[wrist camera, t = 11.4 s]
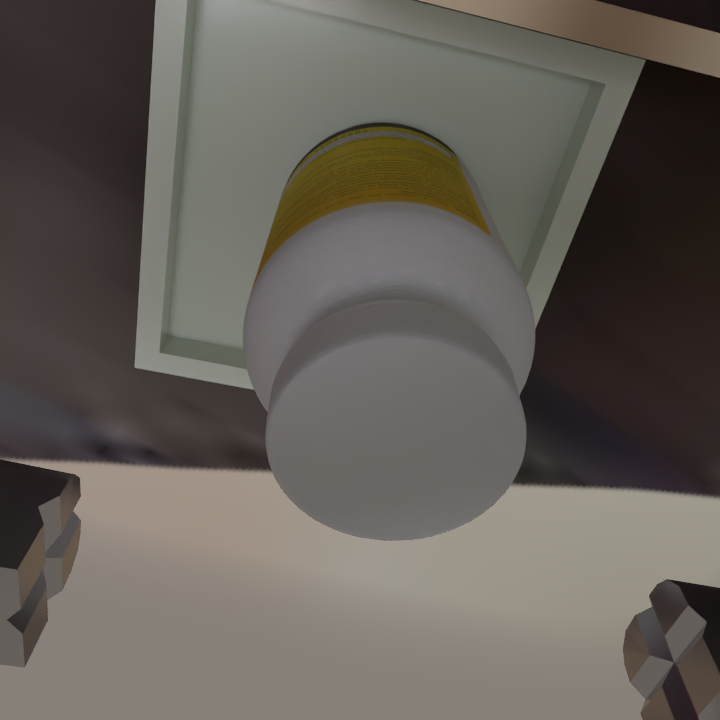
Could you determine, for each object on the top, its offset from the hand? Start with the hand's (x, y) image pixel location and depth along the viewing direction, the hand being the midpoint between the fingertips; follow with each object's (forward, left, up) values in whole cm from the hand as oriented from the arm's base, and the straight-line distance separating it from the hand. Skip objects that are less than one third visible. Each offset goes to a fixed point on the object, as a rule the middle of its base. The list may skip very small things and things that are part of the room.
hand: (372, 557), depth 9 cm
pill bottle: (0, 0, -15) cm, 15 cm away
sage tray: (0, 0, -15) cm, 15 cm away
